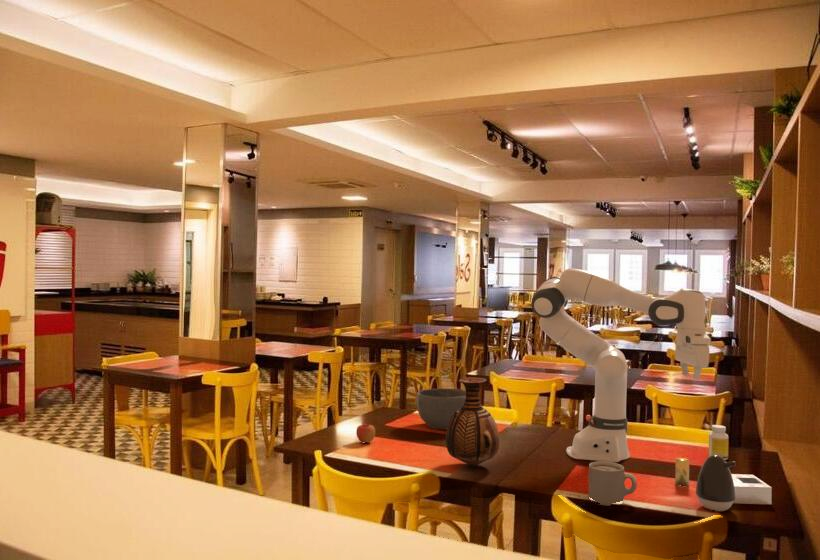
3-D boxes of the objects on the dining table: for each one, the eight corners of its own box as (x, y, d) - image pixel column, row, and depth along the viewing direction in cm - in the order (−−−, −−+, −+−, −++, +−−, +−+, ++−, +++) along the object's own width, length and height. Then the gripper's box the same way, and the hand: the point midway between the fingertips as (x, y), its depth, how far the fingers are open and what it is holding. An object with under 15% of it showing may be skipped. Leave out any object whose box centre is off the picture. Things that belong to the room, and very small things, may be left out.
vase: (507, 475, 218) (508, 384, 217) (453, 477, 215) (454, 385, 214) (488, 456, 239) (489, 373, 238) (439, 458, 236) (440, 374, 235)
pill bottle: (730, 461, 237) (730, 429, 237) (710, 460, 238) (711, 427, 238) (725, 456, 243) (726, 424, 243) (706, 455, 244) (707, 423, 244)
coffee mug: (586, 502, 193) (586, 468, 193) (591, 492, 202) (591, 459, 202) (634, 509, 187) (635, 474, 187) (637, 498, 196) (638, 465, 196)
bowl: (412, 420, 294) (412, 387, 294) (466, 420, 297) (466, 386, 297) (419, 434, 270) (419, 398, 270) (477, 433, 272) (478, 397, 272)
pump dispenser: (729, 518, 182) (730, 463, 182) (690, 508, 189) (691, 455, 188) (740, 507, 190) (741, 455, 189) (702, 499, 196) (703, 448, 196)
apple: (378, 443, 255) (379, 423, 255) (362, 446, 251) (362, 425, 251) (369, 439, 261) (369, 419, 261) (352, 442, 257) (353, 421, 257)
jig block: (722, 502, 194) (722, 485, 194) (706, 489, 206) (706, 473, 206) (771, 504, 193) (771, 487, 193) (752, 490, 205) (752, 474, 205)
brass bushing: (677, 486, 208) (678, 461, 208) (673, 482, 212) (673, 457, 212) (690, 486, 208) (691, 461, 208) (686, 482, 212) (686, 457, 212)
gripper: (670, 333, 234) (670, 372, 234) (693, 339, 213) (692, 382, 214) (688, 334, 234) (688, 373, 234) (713, 339, 213) (712, 382, 213)
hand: (690, 377), depth 224 cm, fingers open, 8 cm apart
